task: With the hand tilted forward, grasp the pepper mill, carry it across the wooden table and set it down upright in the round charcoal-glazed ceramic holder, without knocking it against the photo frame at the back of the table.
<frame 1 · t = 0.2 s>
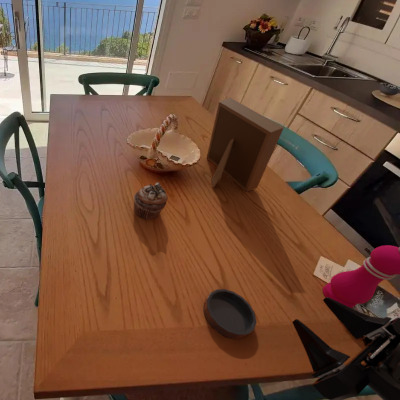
hand: (310, 308, 47), 15 cm above the table, tool horizontal, fingers open, 9 cm apart
pepper mill: (336, 297, 66), on the table
holder: (226, 315, 61), on the table
cupcake: (146, 211, 85), on the table
photo frame: (218, 175, 101), on the table
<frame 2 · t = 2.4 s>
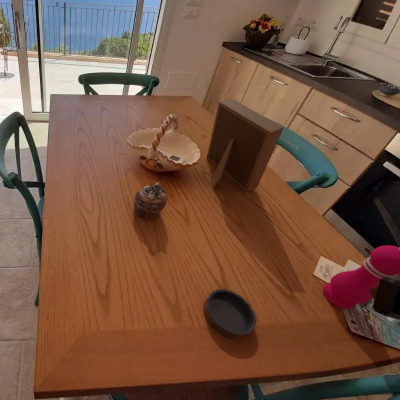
hand: (399, 298, 51), 14 cm above the table, tool tilted 45°, fingers open, 9 cm apart
nothing on the table moved.
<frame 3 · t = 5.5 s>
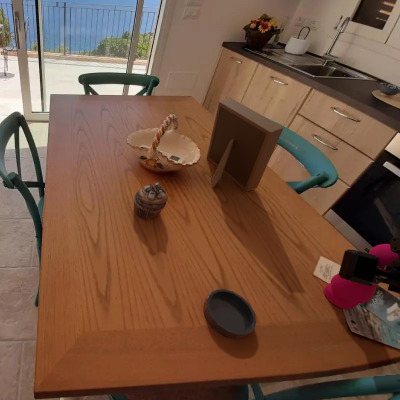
hand: (364, 270, 60), 10 cm above the table, tool tilted 45°, fingers closed on pepper mill, 5 cm apart
pepper mill: (337, 297, 66), on the table, touching gripper
everything else where it was.
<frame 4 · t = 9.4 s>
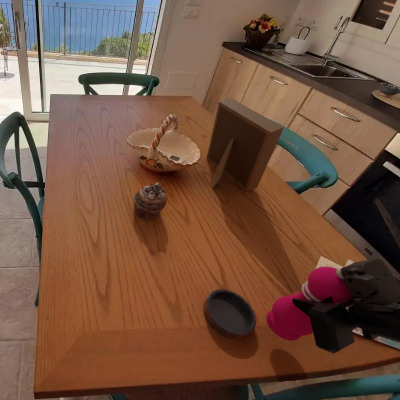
hand: (302, 296, 50), 14 cm above the table, tool tilted 45°, fingers closed on pepper mill, 5 cm apart
pepper mill: (282, 325, 56), point 4 cm above the table, touching gripper
everything else where it was.
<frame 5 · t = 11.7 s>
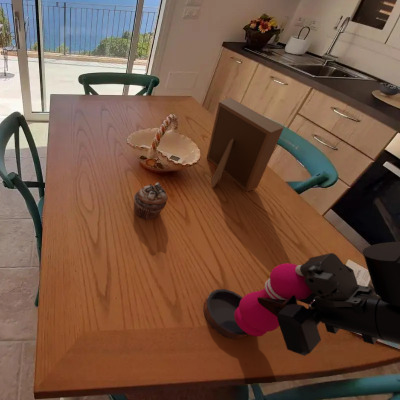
hand: (265, 293, 51), 13 cm above the table, tool tilted 45°, fingers closed on pepper mill, 5 cm apart
pepper mill: (249, 321, 56), point 4 cm above the table, touching gripper
everything else where it was.
when the fingers open (10 cm above the table, at t = 13.7 s): pepper mill stays where it is, resting on holder.
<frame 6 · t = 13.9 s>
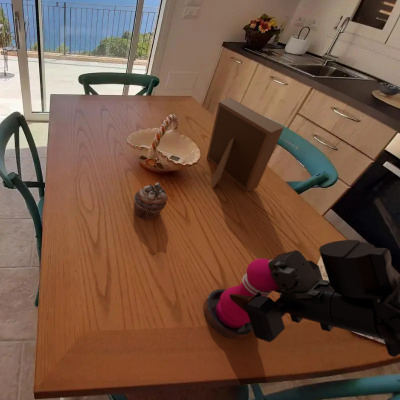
hand: (241, 287, 55), 10 cm above the table, tool tilted 45°, fingers open, 7 cm apart
pepper mill: (229, 315, 61), resting on holder, touching gripper
everything else where it was.
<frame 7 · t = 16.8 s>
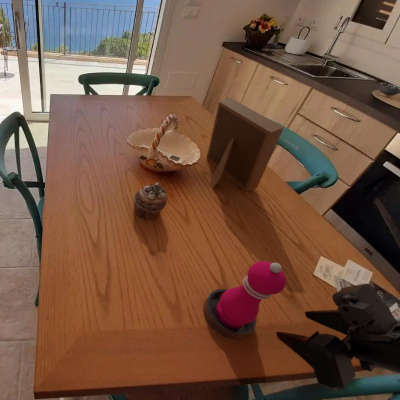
hand: (292, 324, 48), 12 cm above the table, tool tilted 40°, fingers open, 9 cm apart
pepper mill: (229, 315, 61), resting on holder
everything else where it was.
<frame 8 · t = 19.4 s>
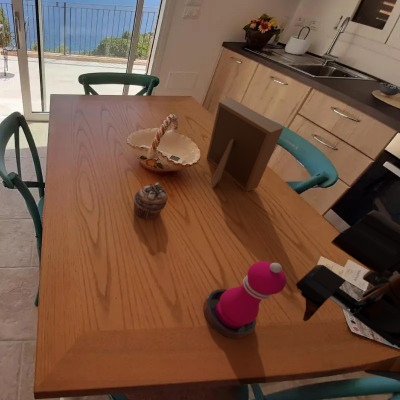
hand: (333, 343, 45), 13 cm above the table, tool pointing down, fingers open, 9 cm apart
nothing on the table moved.
at the end: pepper mill 0.4 cm off-centre in the holder, point 0.3 cm above the holder's base; pepper mill tilted 0°; pepper mill touching holder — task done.
